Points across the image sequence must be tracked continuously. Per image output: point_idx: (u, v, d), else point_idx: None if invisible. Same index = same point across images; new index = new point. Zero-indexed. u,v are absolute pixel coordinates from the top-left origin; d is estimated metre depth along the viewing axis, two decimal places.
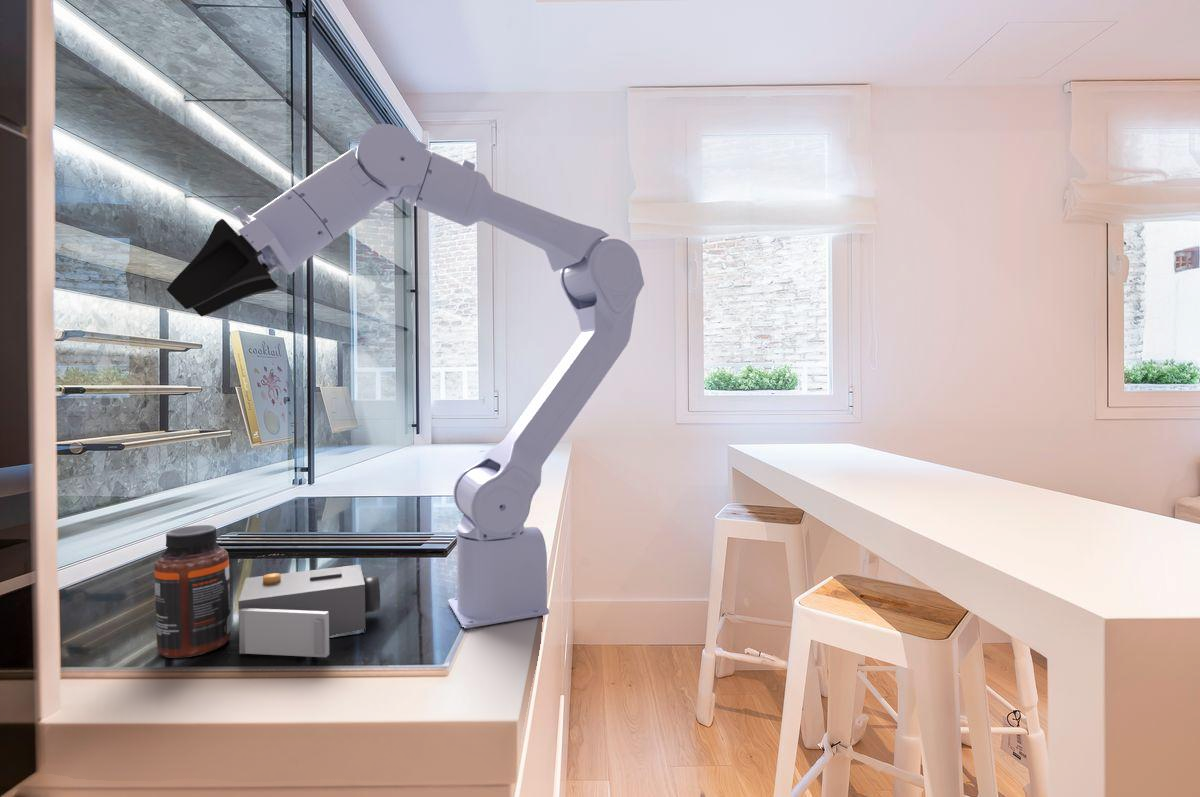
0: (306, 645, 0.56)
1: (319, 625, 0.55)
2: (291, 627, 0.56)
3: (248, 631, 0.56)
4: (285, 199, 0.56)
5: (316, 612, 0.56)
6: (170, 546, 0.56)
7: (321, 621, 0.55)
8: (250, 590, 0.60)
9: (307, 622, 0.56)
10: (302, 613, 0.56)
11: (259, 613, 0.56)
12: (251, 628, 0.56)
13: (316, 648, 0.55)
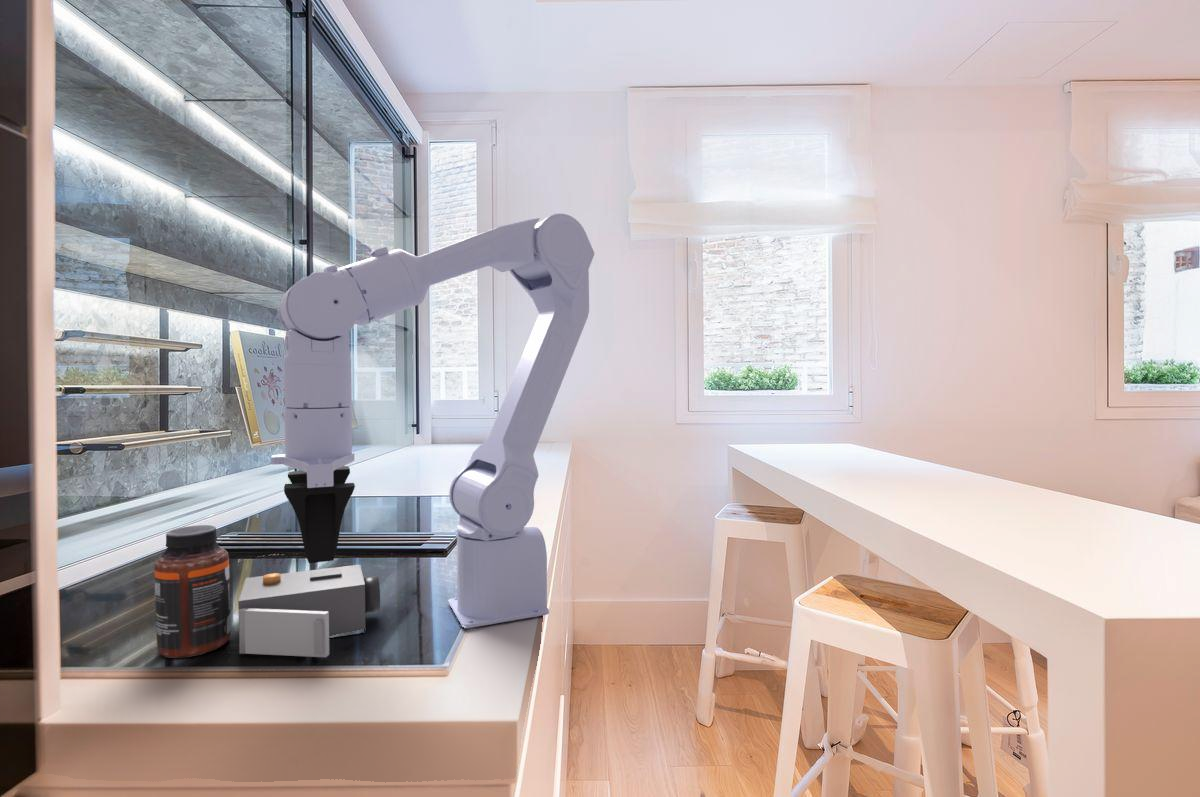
0: (306, 645, 0.56)
1: (319, 625, 0.55)
2: (291, 627, 0.56)
3: (248, 631, 0.56)
4: (294, 420, 0.55)
5: (316, 612, 0.56)
6: (170, 546, 0.56)
7: (321, 621, 0.55)
8: (250, 590, 0.60)
9: (307, 622, 0.56)
10: (302, 613, 0.56)
11: (259, 613, 0.56)
12: (251, 628, 0.56)
13: (316, 648, 0.55)
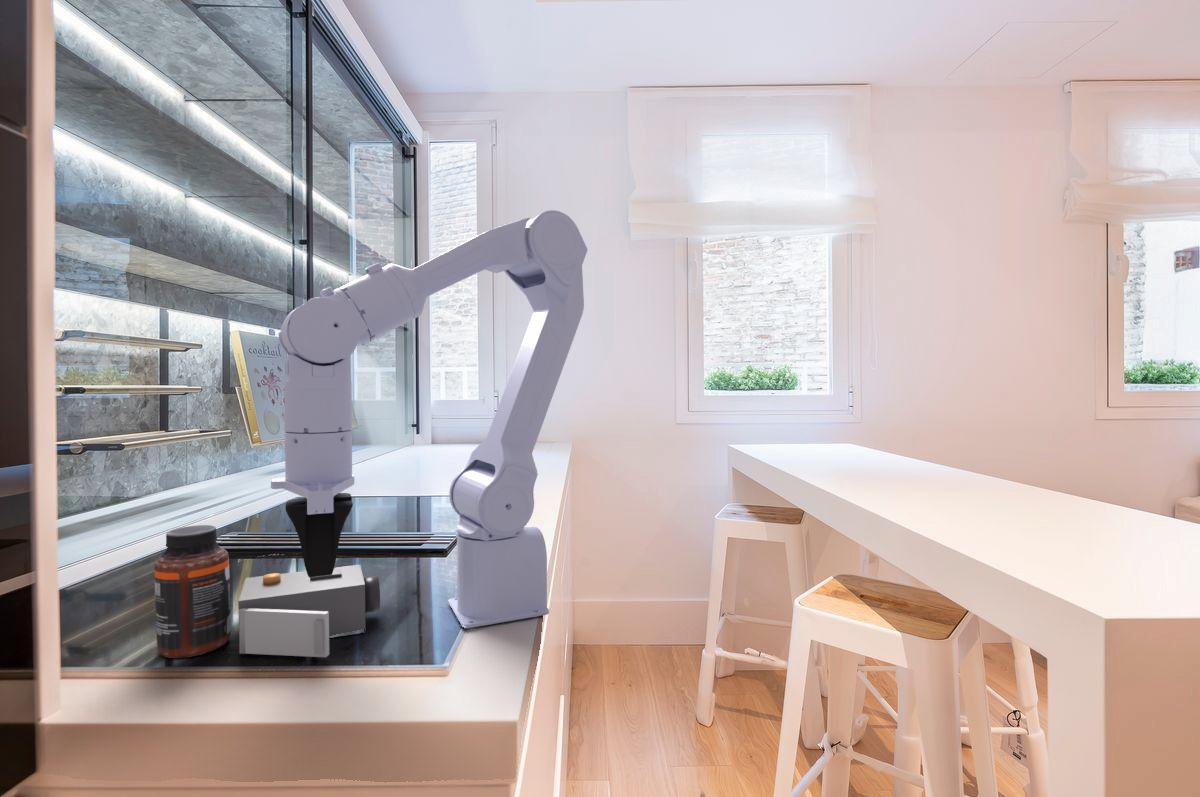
0: (306, 645, 0.56)
1: (319, 625, 0.55)
2: (291, 627, 0.56)
3: (248, 631, 0.56)
4: (294, 445, 0.55)
5: (316, 612, 0.56)
6: (170, 546, 0.56)
7: (321, 621, 0.55)
8: (250, 590, 0.60)
9: (307, 622, 0.56)
10: (302, 613, 0.56)
11: (259, 613, 0.56)
12: (251, 628, 0.56)
13: (316, 648, 0.55)
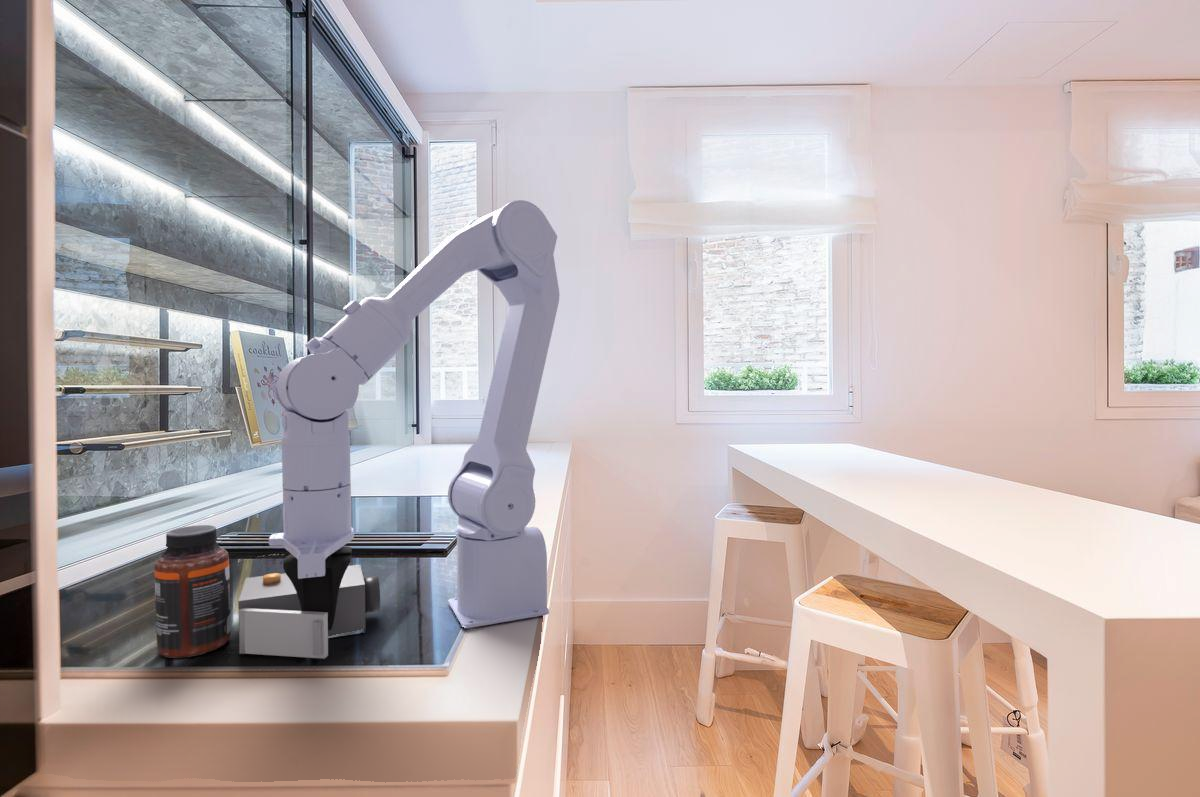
0: (305, 646, 0.56)
1: (318, 626, 0.55)
2: (290, 627, 0.56)
3: (248, 631, 0.56)
4: (290, 503, 0.54)
5: (315, 613, 0.56)
6: (170, 546, 0.56)
7: (319, 622, 0.55)
8: (250, 590, 0.60)
9: (306, 623, 0.56)
10: (301, 614, 0.56)
11: (259, 613, 0.56)
12: (251, 628, 0.56)
13: (314, 649, 0.55)
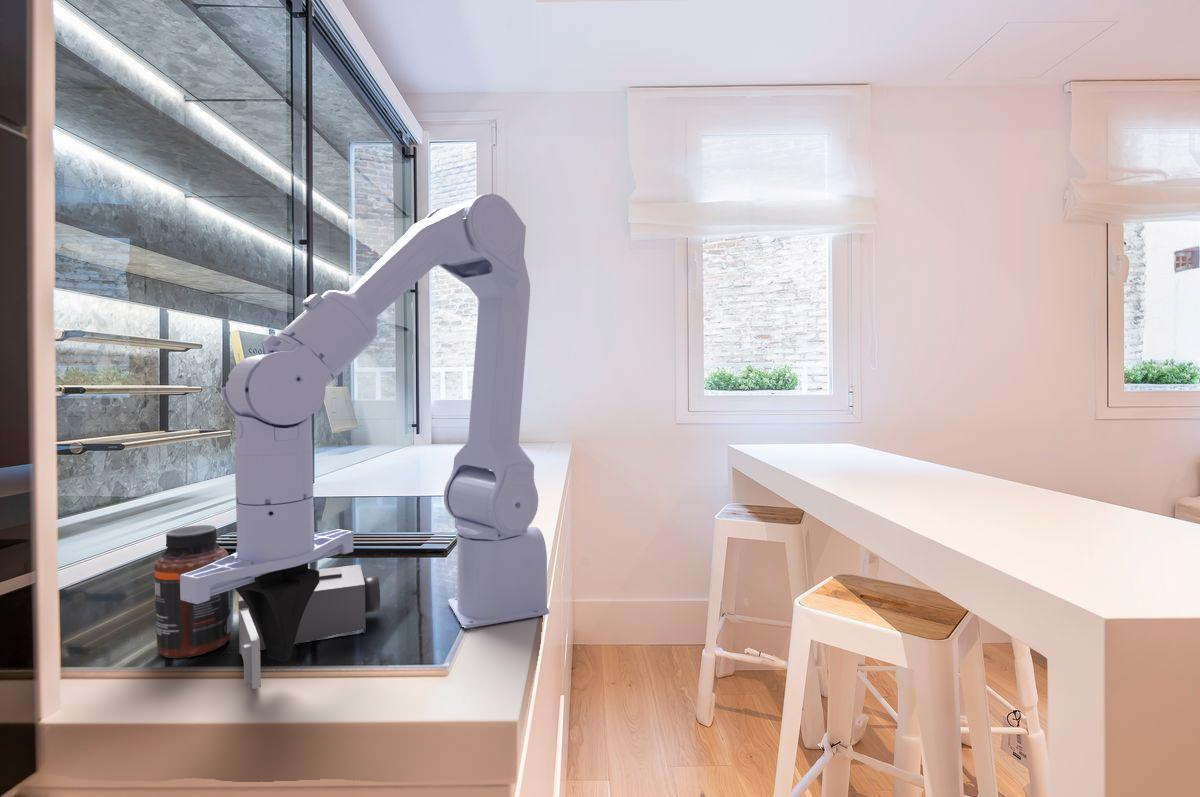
0: None
1: (244, 652, 0.50)
2: (246, 643, 0.53)
3: (241, 632, 0.56)
4: None
5: (253, 636, 0.51)
6: (170, 546, 0.56)
7: (247, 648, 0.50)
8: None
9: (249, 643, 0.51)
10: (248, 632, 0.52)
11: (242, 618, 0.55)
12: (241, 630, 0.56)
13: (244, 675, 0.50)
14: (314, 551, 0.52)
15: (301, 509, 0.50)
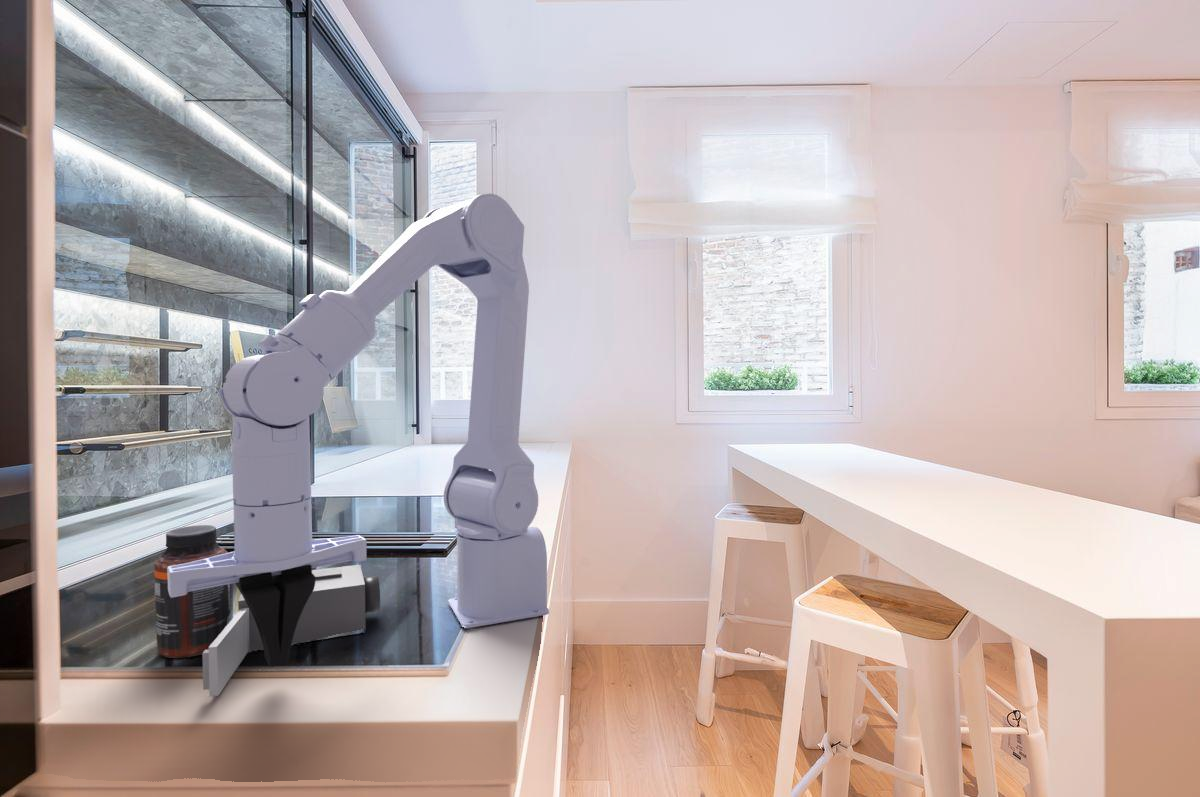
0: None
1: None
2: None
3: None
4: None
5: (216, 641, 0.50)
6: (170, 546, 0.56)
7: (205, 653, 0.49)
8: None
9: None
10: None
11: (234, 619, 0.55)
12: None
13: None
14: (301, 557, 0.50)
15: (284, 513, 0.49)
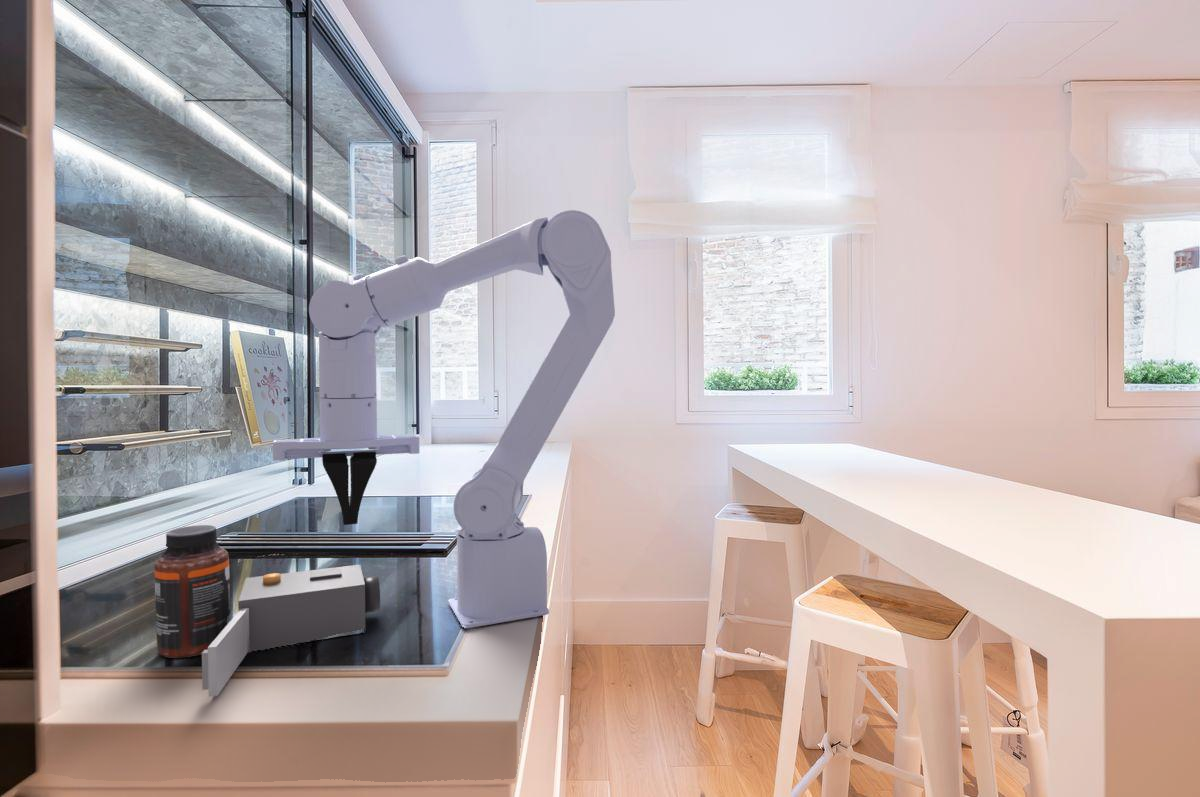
0: None
1: (202, 657, 0.49)
2: None
3: None
4: None
5: (215, 641, 0.50)
6: (170, 546, 0.56)
7: (205, 653, 0.49)
8: (250, 590, 0.60)
9: None
10: (217, 636, 0.51)
11: (234, 619, 0.55)
12: None
13: None
14: (365, 441, 0.65)
15: (351, 405, 0.64)
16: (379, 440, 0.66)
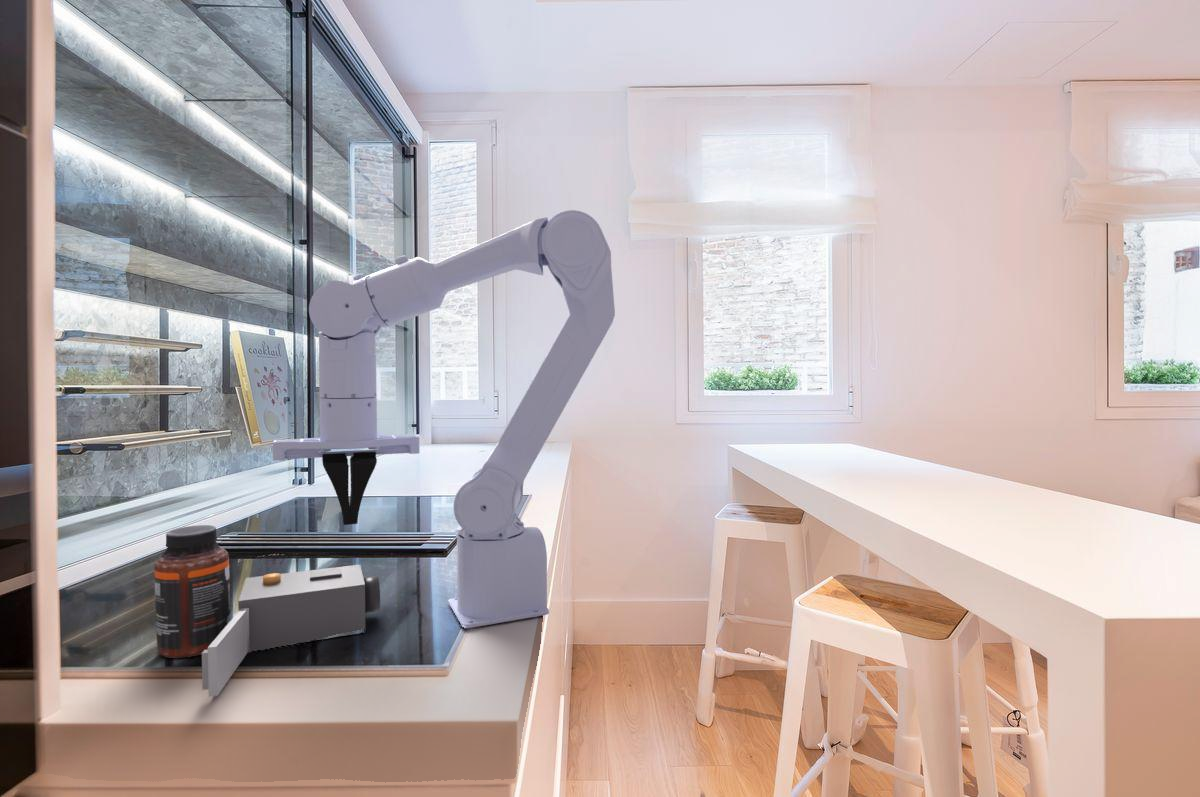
0: None
1: (202, 657, 0.49)
2: None
3: None
4: None
5: (215, 641, 0.50)
6: (170, 546, 0.56)
7: (205, 653, 0.49)
8: (250, 590, 0.60)
9: None
10: (217, 636, 0.51)
11: (234, 619, 0.55)
12: None
13: None
14: (365, 441, 0.65)
15: (351, 405, 0.64)
16: (379, 440, 0.66)
